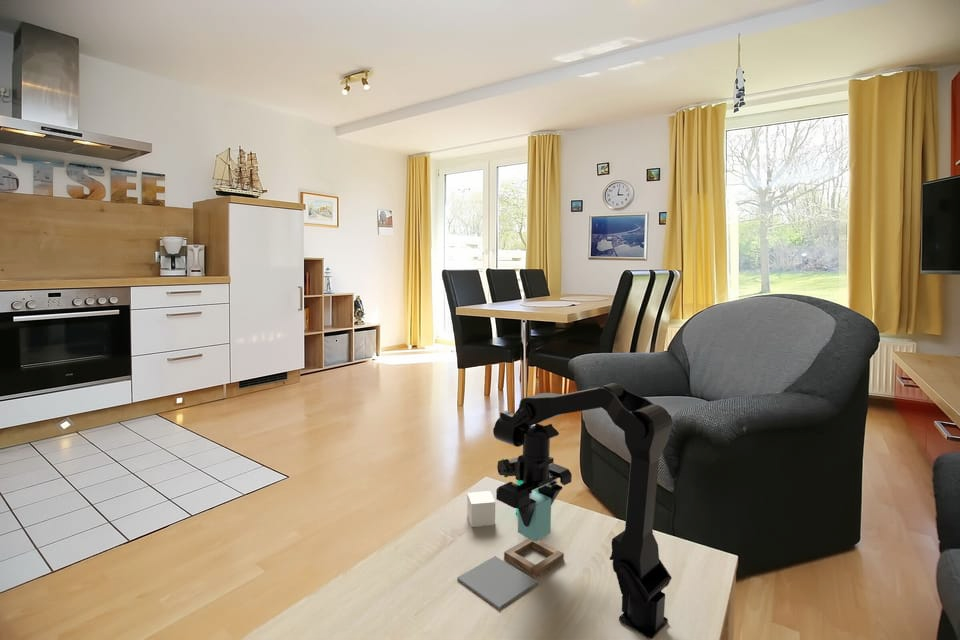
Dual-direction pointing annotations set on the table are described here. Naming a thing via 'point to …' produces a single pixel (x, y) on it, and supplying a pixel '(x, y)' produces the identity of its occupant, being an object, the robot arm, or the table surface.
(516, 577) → the mat
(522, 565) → the frame
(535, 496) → the teal rectangular block
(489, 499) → the white cube
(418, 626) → the table surface
